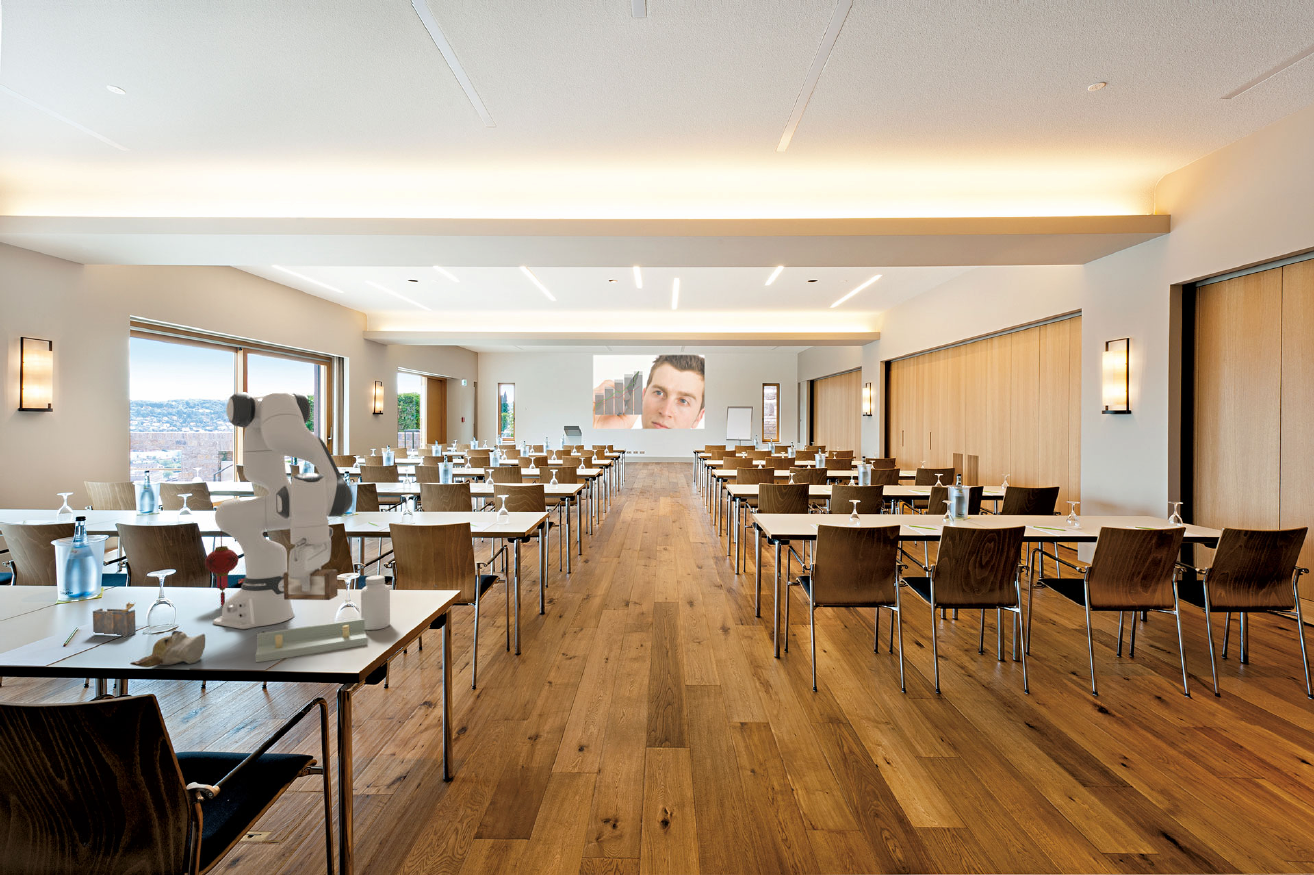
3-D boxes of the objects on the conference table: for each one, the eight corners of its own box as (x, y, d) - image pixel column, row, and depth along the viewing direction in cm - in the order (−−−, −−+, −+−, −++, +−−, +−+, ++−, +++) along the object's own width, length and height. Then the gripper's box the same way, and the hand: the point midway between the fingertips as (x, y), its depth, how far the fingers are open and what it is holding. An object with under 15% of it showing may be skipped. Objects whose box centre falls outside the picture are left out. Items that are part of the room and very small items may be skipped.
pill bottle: (379, 631, 186) (378, 581, 186) (355, 629, 188) (354, 579, 187) (395, 623, 194) (394, 574, 193) (372, 621, 195) (371, 573, 195)
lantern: (198, 608, 211) (196, 519, 210) (223, 600, 220) (221, 515, 219) (222, 610, 209) (219, 520, 208) (246, 602, 218) (244, 515, 217)
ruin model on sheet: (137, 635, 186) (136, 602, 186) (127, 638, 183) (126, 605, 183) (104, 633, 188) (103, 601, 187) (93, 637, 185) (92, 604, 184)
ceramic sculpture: (191, 634, 158) (126, 641, 156) (194, 668, 158) (129, 676, 156) (215, 621, 169) (154, 628, 167) (218, 653, 169) (157, 660, 167)
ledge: (255, 662, 162) (255, 642, 162) (258, 652, 169) (257, 633, 169) (366, 644, 175) (366, 626, 175) (364, 636, 182) (364, 618, 182)
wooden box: (284, 599, 164) (283, 572, 164) (293, 595, 168) (292, 569, 168) (329, 600, 164) (328, 573, 164) (337, 595, 168) (337, 569, 168)
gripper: (308, 543, 156) (309, 598, 157) (335, 528, 176) (335, 577, 177) (280, 543, 155) (281, 599, 155) (310, 528, 175) (311, 577, 176)
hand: (310, 587), depth 166 cm, fingers closed on wooden box, 4 cm apart
